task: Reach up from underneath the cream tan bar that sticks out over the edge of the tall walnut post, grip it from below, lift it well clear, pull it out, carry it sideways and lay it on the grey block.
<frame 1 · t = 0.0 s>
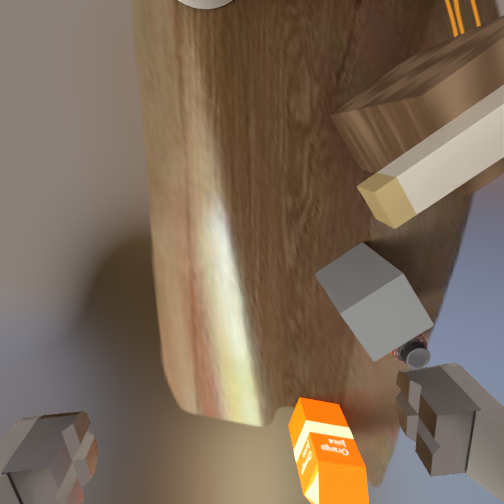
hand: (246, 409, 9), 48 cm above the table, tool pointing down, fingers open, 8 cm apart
supplement bottle: (387, 322, 65), on the table
grey block: (351, 279, 61), on the table
orange juice: (313, 414, 71), on the table
cream tan bar: (467, 134, 29), point 26 cm above the table, touching walnut post
walnut post: (383, 116, 53), on the table
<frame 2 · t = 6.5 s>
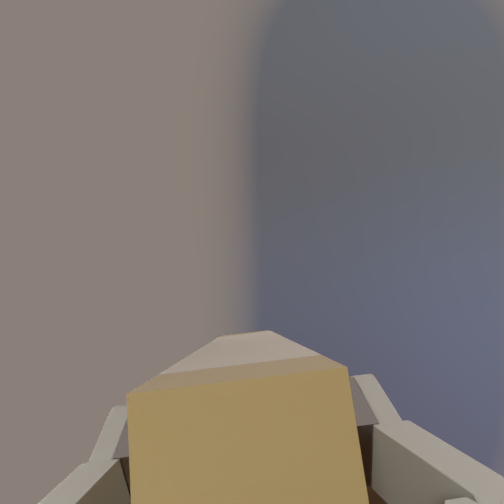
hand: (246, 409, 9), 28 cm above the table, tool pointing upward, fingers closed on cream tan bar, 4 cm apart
cream tan bar: (252, 427, 15), point 26 cm above the table, touching gripper, walnut post
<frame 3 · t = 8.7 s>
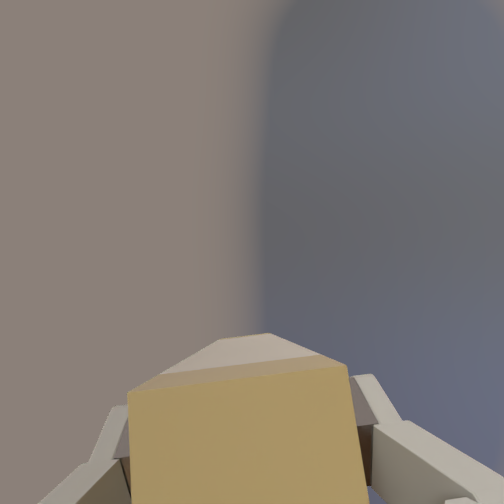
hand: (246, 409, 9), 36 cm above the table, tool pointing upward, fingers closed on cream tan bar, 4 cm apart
cream tan bar: (252, 429, 15), point 34 cm above the table, touching gripper
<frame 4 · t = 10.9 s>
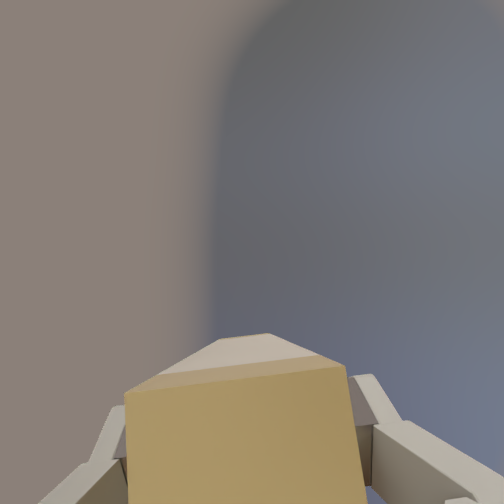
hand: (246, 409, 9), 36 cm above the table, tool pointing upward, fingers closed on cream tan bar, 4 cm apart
cream tan bar: (252, 430, 15), point 34 cm above the table, touching gripper
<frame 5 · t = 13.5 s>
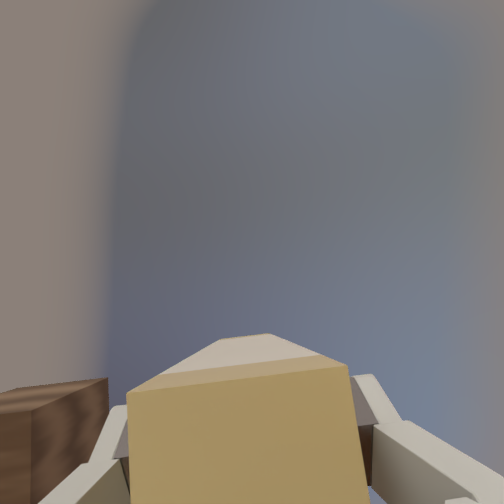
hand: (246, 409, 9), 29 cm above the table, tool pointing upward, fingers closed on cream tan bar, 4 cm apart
cream tan bar: (252, 430, 15), point 26 cm above the table, touching gripper
when the fingers open (19 cm above the table, at t = 15.5 s): cream tan bar drops 2 cm, resting on grey block.
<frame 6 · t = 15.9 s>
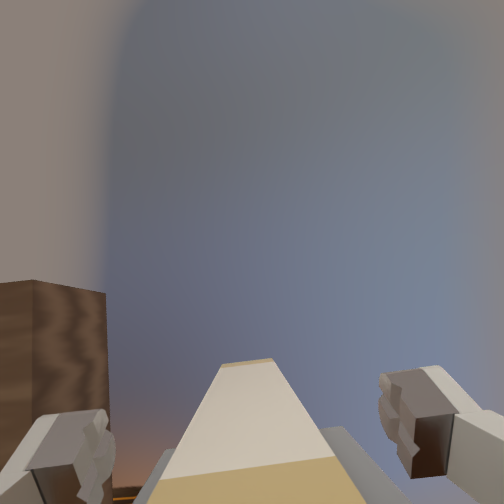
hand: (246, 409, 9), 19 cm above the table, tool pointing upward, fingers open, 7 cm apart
cream tan bar: (257, 480, 14), point 14 cm above the table, touching grey block
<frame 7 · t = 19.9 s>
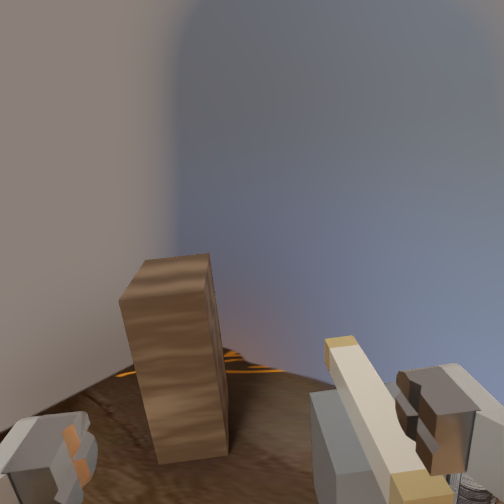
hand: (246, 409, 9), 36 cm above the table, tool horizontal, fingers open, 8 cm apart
supplement bottle: (463, 497, 41), on the table
cream tan bar: (370, 423, 34), point 14 cm above the table, touching grey block
walnut post: (197, 421, 55), on the table
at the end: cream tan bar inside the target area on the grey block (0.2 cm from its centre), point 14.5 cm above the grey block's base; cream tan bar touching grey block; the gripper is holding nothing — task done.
